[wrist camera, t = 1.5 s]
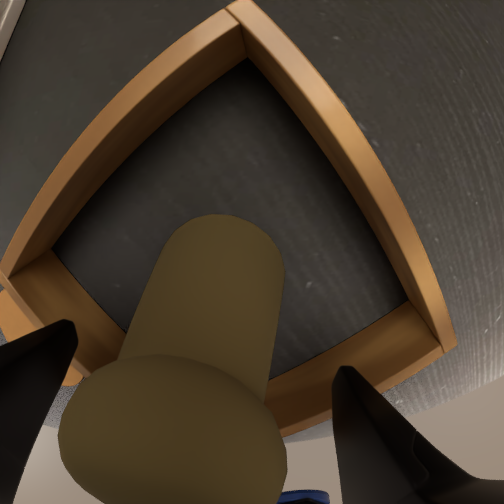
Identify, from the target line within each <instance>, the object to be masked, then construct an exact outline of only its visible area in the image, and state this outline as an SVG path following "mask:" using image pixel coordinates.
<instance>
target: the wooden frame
mask: <svg viewBox="0 0 504 504" xmlns="http://www.w3.org/2000/svg"><path fill="white" fill-rule="evenodd" d="M247 56H248V58H249V59H250V60H251V61H252V62H253V63H254V64H255V65H256V67H257V68H258V69H259V70H260V71H261V72H262V74H263V75H264V76H265V77H266V78H267V79H268V81H269V82H270V83H271V84H272V85H273V87H274V88H275V89H276V90H277V91H278V93H279V94H280V95H281V96H282V98H283V99H284V100H285V101H286V103H287V104H288V105H289V106H290V108H291V109H292V110H293V112H294V113H295V114H296V115H297V117H298V118H299V119H300V121H301V122H302V123H303V125H304V126H305V127H306V129H307V130H308V131H309V133H310V134H311V136H312V137H313V138H314V140H315V141H316V142H317V144H318V145H319V147H320V148H321V150H322V151H323V152H324V154H325V155H326V157H327V158H328V160H329V161H330V163H331V164H332V166H333V167H334V168H335V170H336V171H337V173H338V175H339V176H340V178H341V179H342V181H343V182H344V184H345V185H346V187H347V188H348V190H349V192H350V193H351V195H352V196H353V198H354V200H355V201H356V203H357V204H358V206H359V208H360V209H361V211H362V213H363V214H364V216H365V218H366V219H367V221H368V223H369V225H370V226H371V228H372V230H373V232H374V233H375V235H376V237H377V239H378V240H379V242H380V244H381V246H382V248H383V249H384V251H385V253H386V255H387V257H388V259H389V261H390V263H391V264H392V266H393V268H394V270H395V272H396V274H397V276H398V278H399V280H400V282H401V284H402V286H403V288H404V290H405V292H406V294H407V296H408V299H409V300H408V301H406V302H405V303H403V304H402V305H400V306H399V307H397V308H396V309H395V310H393V311H392V312H390V313H388V314H387V315H385V316H384V317H382V318H381V319H379V320H378V321H376V322H375V323H373V324H371V325H370V326H368V327H367V328H365V329H363V330H362V331H360V332H358V333H357V334H355V335H353V336H352V337H350V338H348V339H347V340H345V341H343V342H342V343H340V344H338V345H336V346H335V347H333V348H331V349H329V350H327V351H326V352H324V353H322V354H320V355H318V356H316V357H315V358H313V359H311V360H309V361H307V362H305V363H303V364H301V365H299V366H297V367H295V368H294V369H292V370H290V371H288V372H286V373H283V374H281V375H279V376H277V377H275V378H273V379H271V380H269V381H268V384H267V389H266V394H265V400H264V405H265V406H266V407H267V408H268V409H269V410H270V411H271V412H272V414H273V416H274V419H275V421H276V424H277V426H278V429H279V431H280V434H281V437H282V438H283V437H286V436H289V435H291V434H294V433H297V432H299V431H302V430H304V429H307V428H309V427H312V426H314V425H317V424H319V423H322V422H324V421H326V420H328V419H331V418H332V393H331V386H332V382H333V379H334V377H335V375H336V373H337V371H338V368H339V367H340V366H341V365H350V366H353V367H354V368H355V369H356V370H357V371H358V372H359V373H360V374H361V375H362V376H363V377H364V378H365V379H366V380H367V381H368V382H369V383H370V384H371V385H372V386H373V387H374V388H375V389H376V390H377V391H378V392H379V393H380V394H381V393H383V392H385V391H387V390H389V389H390V388H392V387H394V386H396V385H397V384H399V383H401V382H402V381H404V380H406V379H407V378H409V377H411V376H412V375H414V374H415V373H417V372H419V371H420V370H422V369H423V368H425V367H426V366H428V365H429V364H431V363H432V362H434V361H435V360H437V359H438V358H440V357H441V356H442V355H443V354H444V353H447V352H448V351H449V350H451V349H452V348H454V347H455V346H456V345H457V340H456V336H455V333H454V329H453V326H452V323H451V319H450V316H449V313H448V310H447V307H446V304H445V301H444V298H443V295H442V293H441V290H440V287H439V284H438V282H437V279H436V276H435V274H434V271H433V269H432V266H431V264H430V261H429V259H428V256H427V254H426V252H425V249H424V247H423V245H422V242H421V240H420V238H419V236H418V233H417V231H416V229H415V227H414V225H413V223H412V221H411V219H410V217H409V214H408V212H407V210H406V208H405V206H404V204H403V202H402V201H401V199H400V197H399V195H398V193H397V191H396V189H395V187H394V185H393V184H392V182H391V180H390V178H389V176H388V175H387V173H386V171H385V169H384V168H383V166H382V164H381V162H380V161H379V159H378V157H377V156H376V154H375V152H374V151H373V149H372V147H371V146H370V144H369V143H368V141H367V139H366V138H365V136H364V135H363V133H362V132H361V130H360V129H359V127H358V126H357V124H356V123H355V121H354V120H353V118H352V117H351V115H350V114H349V112H348V111H347V110H346V108H345V107H344V105H343V104H342V102H341V101H340V100H339V98H338V97H337V96H336V94H335V93H334V92H333V90H332V89H331V88H330V86H329V85H328V84H327V82H326V81H325V80H324V79H323V77H322V76H321V75H320V73H319V72H318V71H317V70H316V68H315V67H314V66H313V65H312V64H311V62H310V61H309V60H308V59H307V58H306V56H305V55H304V54H303V53H302V52H301V51H300V49H299V48H298V47H297V46H296V45H295V44H294V43H293V42H292V40H291V39H290V38H289V37H288V36H287V35H286V34H285V33H284V32H283V31H282V30H281V29H280V27H279V26H278V25H277V24H276V23H275V22H274V21H273V20H272V19H271V18H270V17H269V16H268V15H267V14H266V13H265V12H264V11H263V10H262V9H261V8H260V7H259V6H258V5H257V4H255V3H254V2H253V1H252V0H236V1H235V2H233V3H231V4H230V5H228V6H227V7H226V8H225V9H224V8H223V9H221V10H220V11H218V12H217V13H215V14H214V15H212V16H210V17H209V18H208V19H206V20H205V21H203V22H202V23H200V24H199V25H197V26H196V27H195V28H193V29H192V30H191V31H189V32H188V33H187V34H185V35H184V36H183V37H181V38H180V39H179V40H177V41H176V42H175V43H174V44H172V45H171V46H170V47H169V48H167V49H166V50H165V51H164V52H162V53H161V54H160V55H159V56H158V57H156V58H155V59H154V60H153V61H152V62H151V63H150V64H148V65H147V66H146V67H145V68H144V69H143V70H142V71H141V72H140V73H138V74H137V75H136V76H135V77H134V78H133V79H132V80H131V81H130V82H129V83H128V84H127V85H126V86H125V87H124V88H123V89H122V90H121V91H120V92H119V93H118V94H117V95H116V96H115V97H114V98H113V99H112V100H111V101H110V102H109V103H108V104H107V105H106V106H105V107H104V109H103V110H102V111H101V112H100V113H99V114H98V115H97V116H96V117H95V119H94V120H93V121H92V122H91V123H90V124H89V126H88V127H87V128H86V129H85V130H84V131H83V133H82V134H81V135H80V136H79V138H78V139H77V140H76V141H75V143H74V144H73V145H72V146H71V148H70V149H69V150H68V152H67V153H66V154H65V155H64V157H63V158H62V159H61V161H60V162H59V164H58V165H57V166H56V168H55V169H54V171H53V172H52V173H51V175H50V176H49V178H48V179H47V181H46V182H45V184H44V185H43V187H42V188H41V190H40V191H39V193H38V195H37V196H36V198H35V199H34V201H33V203H32V204H31V206H30V208H29V209H28V211H27V213H26V214H25V216H24V218H23V220H22V221H21V223H20V225H19V227H18V229H17V230H16V232H15V234H14V236H13V238H12V240H11V242H10V244H9V246H8V248H7V250H6V252H5V254H4V256H3V258H2V260H1V263H0V283H1V284H2V286H3V287H4V289H5V290H6V291H7V293H8V294H9V295H10V297H11V298H12V299H13V301H14V302H15V303H16V304H17V306H18V307H19V308H20V309H21V311H22V312H23V313H24V314H25V316H26V317H27V318H28V319H29V320H30V322H31V323H32V324H33V325H34V326H35V327H36V328H37V330H38V329H40V328H43V327H45V326H47V325H50V324H52V323H54V322H56V321H59V320H61V319H68V320H71V321H73V322H74V324H75V327H76V331H77V335H78V339H79V343H78V347H77V349H76V352H75V354H74V356H73V359H72V361H71V365H72V366H73V367H74V368H75V369H76V370H77V371H78V372H79V373H80V374H82V375H83V376H84V377H85V378H87V377H88V376H89V375H91V374H92V373H93V372H94V371H95V370H97V369H99V368H101V367H103V366H105V365H107V364H109V363H112V362H114V361H116V360H117V359H118V356H119V353H120V350H121V348H122V345H123V342H124V340H125V337H126V333H125V332H124V331H123V330H122V329H121V328H120V327H119V326H118V325H117V324H116V323H115V322H114V321H113V320H112V319H111V318H110V317H109V316H108V315H107V314H106V313H105V312H104V311H103V310H102V308H101V307H100V306H99V305H98V304H97V303H96V302H95V301H94V300H93V299H92V298H91V296H90V295H89V294H88V293H87V292H86V291H85V290H84V289H83V287H82V286H81V285H80V284H79V283H78V282H77V280H76V279H75V278H74V277H73V276H72V274H71V273H70V272H69V271H68V270H67V268H66V267H65V266H64V265H63V263H62V262H61V261H60V260H59V258H58V257H57V256H56V255H55V253H54V252H53V251H52V249H51V248H52V246H53V245H54V243H55V242H56V241H57V239H58V238H59V237H60V235H61V234H62V233H63V231H64V230H65V229H66V227H67V226H68V225H69V223H70V222H71V221H72V220H73V218H74V217H75V216H76V215H77V213H78V212H79V211H80V210H81V208H82V207H83V206H84V205H85V204H86V202H87V201H88V200H89V199H90V198H91V197H92V195H93V194H94V193H95V192H96V191H97V190H98V188H99V187H100V186H101V185H102V184H103V183H104V182H105V181H106V180H107V178H108V177H109V176H110V175H111V174H112V173H113V172H114V171H115V170H116V169H117V168H118V167H119V166H120V165H121V163H122V162H123V161H124V160H125V159H126V158H127V157H128V156H129V155H130V154H131V153H132V152H133V151H134V150H135V149H136V148H137V147H138V146H139V145H140V144H141V143H142V142H143V141H144V140H146V139H147V138H148V137H149V136H150V135H151V134H152V133H153V132H154V131H155V130H156V129H157V128H158V127H159V126H161V125H162V124H163V123H164V122H165V121H166V120H167V119H168V118H170V117H171V116H172V115H173V114H174V113H175V112H176V111H178V110H179V109H180V108H181V107H182V106H184V105H185V104H186V103H187V102H188V101H190V100H191V99H192V98H193V97H194V96H196V95H197V94H198V93H199V92H201V91H202V90H203V89H205V88H206V87H207V86H208V85H210V84H211V83H212V82H214V81H215V80H216V79H218V78H219V77H220V76H222V75H223V74H224V73H226V72H227V71H229V70H230V69H231V68H233V67H234V66H236V65H237V64H238V63H240V62H241V61H243V60H244V59H246V58H247Z"/></svg>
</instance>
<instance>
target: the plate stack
mask: <svg viewBox="0 0 504 504" xmlns="http://www.w3.org/2000/svg"><path fill="white" fill-rule="evenodd" d="M25 2H26V0H0V61H1V59H2V56H3V54H4V51H5V49H6V47H7V44H8V42H9V40H10V37H11V35H12V32H13V30H14V28H15V25H16V23H17V21H18V18H19V16H20V14H21V11H22V9H23V6H24V4H25Z"/></svg>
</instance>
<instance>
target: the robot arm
mask: <svg viewBox="0 0 504 504" xmlns="http://www.w3.org/2000/svg"><path fill="white" fill-rule="evenodd" d="M78 343H79V339H78V335H77V331H76V327H75V324H74V322H73V321H71V320H68V319H61V320H59V321H56V322H54V323H52V324H50V325H47V326H45V327H43V328H40V329H38V330H36V331H33V332H31V333H29V334H27V335H24V336H22V337H20V338H17V339H15V340H13V341H11V342H8V343H6V344H4V345H1V346H0V504H13V501H14V498H15V495H16V492H17V488H18V486H19V483H20V480H21V477H22V474H23V472H24V469H25V468H24V467H25V466H26V463H27V460H28V458H29V455H30V453H31V450H32V448H33V445H34V443H35V441H36V438H37V436H38V434H39V431H40V429H41V427H42V425H43V422H44V420H45V418H46V416H47V414H48V412H49V409H50V407H51V405H52V403H53V401H54V399H55V397H56V395H57V393H58V391H59V389H60V387H61V385H62V383H63V381H64V379H65V376H66V374H67V372H68V369H69V366H70V364H71V361H72V359H73V356H74V354H75V352H76V349H77V347H78ZM331 393H332V421H333V433H334V440H335V447H336V454H337V461H338V468H339V475H340V484H341V492H342V501H343V504H504V480H486V479H480V478H476V477H473V476H472V475H470V474H468V473H467V472H465V471H464V470H463V469H461V468H460V467H459V466H457V465H456V464H455V463H454V462H453V461H451V460H450V459H449V458H447V457H446V456H445V455H444V454H442V453H441V452H440V451H439V450H438V449H436V448H435V447H434V446H433V445H432V444H431V443H430V442H429V441H428V440H427V439H426V438H424V437H423V436H422V435H421V434H420V433H419V432H418V431H416V429H415V428H414V427H413V426H412V425H411V424H410V423H409V422H408V421H407V420H406V419H405V418H404V417H403V416H402V415H401V414H400V413H399V412H398V411H397V410H396V409H395V408H394V407H393V406H392V405H391V404H390V403H389V402H388V401H387V400H386V399H385V398H384V397H383V396H382V395H381V394H380V393H379V392H378V391H377V390H376V389H375V388H374V387H373V386H372V385H371V384H370V383H369V382H368V381H367V380H366V379H365V378H364V377H363V376H362V375H361V374H360V373H359V372H358V371H357V370H356V369H355V368H354V367H353V366H350V365H341V366H340V367H339V368H338V371H337V373H336V375H335V377H334V379H333V382H332V386H331ZM280 504H326V503H323V502H320V501H317V500H314V499H311V498H302V499H298V500H294V501H290V502H285V503H280Z"/></svg>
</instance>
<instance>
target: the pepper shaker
mask: <svg viewBox="0 0 504 504" xmlns="http://www.w3.org/2000/svg"><path fill="white" fill-rule="evenodd" d="M284 279H285V269H284V264H283V260H282V256H281V253H280V251H279V250H278V248H277V247H276V245H275V244H274V242H273V241H272V239H271V238H270V236H269V235H267V234H266V233H265V232H264V231H262V230H261V229H260V228H259V227H257V226H256V225H255V224H253V223H251V222H249V221H246V220H243V219H241V218H238V217H236V216H233V215H217V214H210V215H206V216H202V217H198V218H195V219H191V220H189V221H188V222H186V223H185V224H184V225H182V226H181V227H179V228H178V229H176V230H175V231H174V232H173V234H172V235H171V236H170V238H169V239H168V241H167V242H166V243H165V245H164V247H163V249H162V251H161V253H160V255H159V258H158V260H157V262H156V264H155V266H154V269H153V271H152V273H151V276H150V278H149V280H148V283H147V285H146V287H145V290H144V292H143V294H142V297H141V299H140V302H139V304H138V306H137V309H136V311H135V314H134V316H133V319H132V321H131V324H130V327H129V329H128V332H127V334H126V337H125V340H124V342H123V345H122V348H121V350H120V353H119V356H118V359H117V360H116V361H114V362H112V363H109V364H107V365H105V366H103V367H101V368H99V369H97V370H95V371H94V372H93V373H92V374H91V375H89V376H88V377H87V378H86V379H85V380H84V381H82V382H81V383H80V384H79V386H78V388H77V389H76V391H75V392H74V394H73V396H72V397H71V399H70V400H69V402H68V404H67V406H66V408H65V410H64V412H63V414H62V417H61V422H60V426H59V432H58V441H59V448H60V455H61V459H62V461H63V464H64V466H65V468H66V469H67V471H68V472H69V474H70V475H71V476H72V478H73V479H74V480H75V482H76V483H78V484H79V485H80V486H81V487H82V488H83V489H84V490H85V491H87V492H88V493H89V494H91V495H93V496H94V497H95V498H97V499H99V500H100V501H101V502H103V503H104V504H276V503H277V501H278V499H279V497H280V495H281V493H282V489H283V486H284V482H285V479H286V475H287V455H286V448H285V445H284V442H283V440H282V437H281V434H280V431H279V429H278V426H277V424H276V421H275V419H274V416H273V414H272V412H271V411H270V410H269V409H268V408H267V407H266V406H265V405H264V400H265V394H266V389H267V384H268V378H269V373H270V367H271V361H272V356H273V350H274V344H275V338H276V332H277V326H278V320H279V314H280V307H281V301H282V294H283V287H284Z"/></svg>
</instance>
